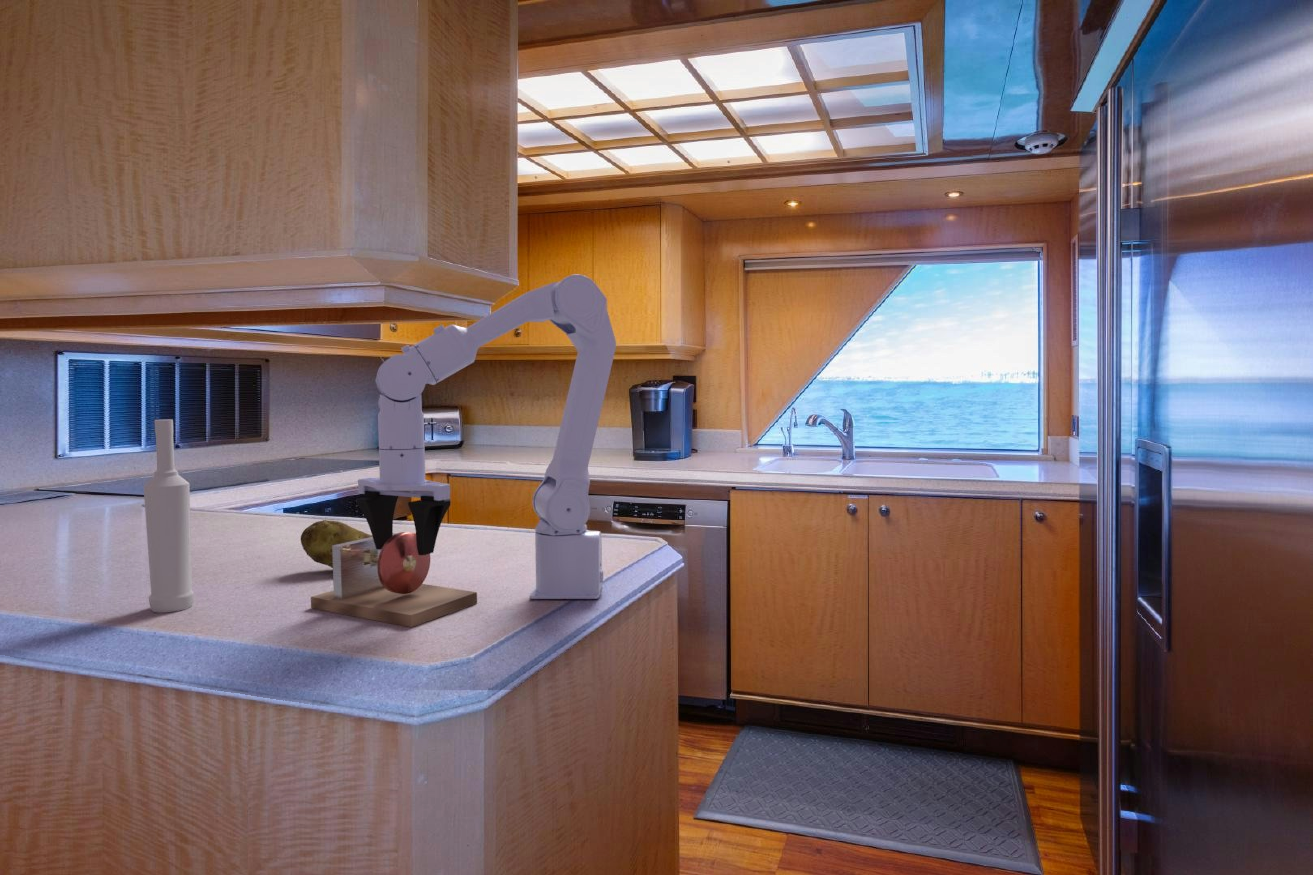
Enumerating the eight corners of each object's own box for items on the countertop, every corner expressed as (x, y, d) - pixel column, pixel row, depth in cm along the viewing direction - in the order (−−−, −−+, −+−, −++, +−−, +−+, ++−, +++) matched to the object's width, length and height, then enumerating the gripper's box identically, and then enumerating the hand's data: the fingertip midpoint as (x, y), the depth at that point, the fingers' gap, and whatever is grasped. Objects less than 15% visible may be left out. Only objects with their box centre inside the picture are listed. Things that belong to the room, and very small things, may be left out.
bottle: (185, 599, 111) (177, 418, 109) (201, 606, 107) (193, 419, 106) (143, 608, 107) (134, 420, 105) (158, 615, 103) (148, 421, 102)
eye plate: (333, 598, 106) (332, 545, 105) (391, 581, 115) (390, 532, 114) (341, 599, 105) (340, 546, 105) (399, 582, 114) (398, 533, 113)
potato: (371, 577, 123) (370, 525, 122) (293, 575, 125) (291, 524, 124) (396, 565, 131) (395, 516, 131) (322, 563, 133) (320, 515, 132)
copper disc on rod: (328, 590, 108) (326, 531, 107) (374, 577, 115) (373, 522, 114) (387, 600, 103) (386, 538, 102) (432, 586, 110) (431, 528, 109)
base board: (311, 607, 107) (310, 596, 106) (381, 587, 117) (380, 577, 117) (411, 627, 98) (411, 615, 98) (477, 603, 109) (476, 592, 109)
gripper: (338, 448, 105) (341, 551, 106) (420, 452, 98) (423, 562, 99) (380, 444, 111) (382, 541, 112) (460, 448, 104) (462, 551, 105)
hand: (404, 550), depth 106 cm, fingers open, 7 cm apart
